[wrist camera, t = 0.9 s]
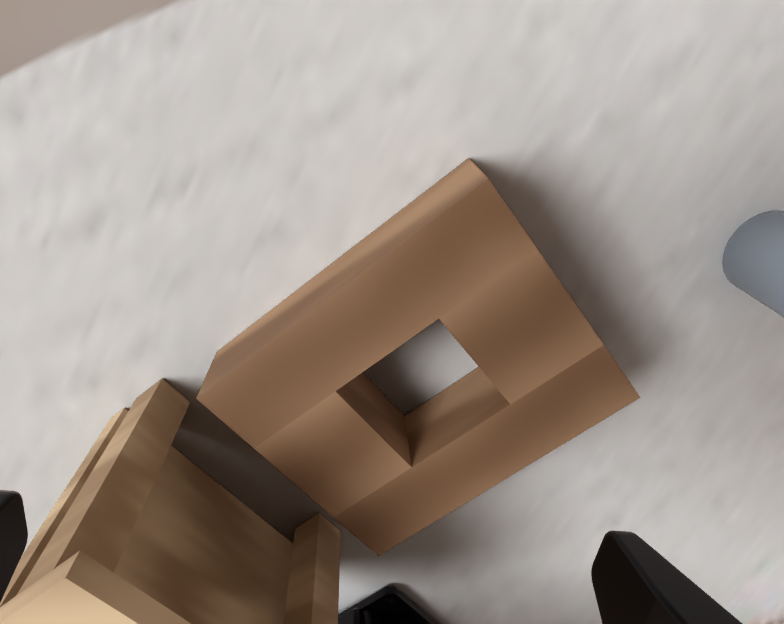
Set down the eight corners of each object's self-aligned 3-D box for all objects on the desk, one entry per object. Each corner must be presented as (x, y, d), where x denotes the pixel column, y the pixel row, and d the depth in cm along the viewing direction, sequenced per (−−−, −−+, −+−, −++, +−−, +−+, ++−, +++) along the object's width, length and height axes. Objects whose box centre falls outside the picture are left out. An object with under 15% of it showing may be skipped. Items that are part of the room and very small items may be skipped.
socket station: (610, 361, 23) (765, 555, 15) (292, 561, 27) (262, 810, 18) (460, 146, 19) (550, 236, 10) (111, 418, 23) (-40, 651, 14)
